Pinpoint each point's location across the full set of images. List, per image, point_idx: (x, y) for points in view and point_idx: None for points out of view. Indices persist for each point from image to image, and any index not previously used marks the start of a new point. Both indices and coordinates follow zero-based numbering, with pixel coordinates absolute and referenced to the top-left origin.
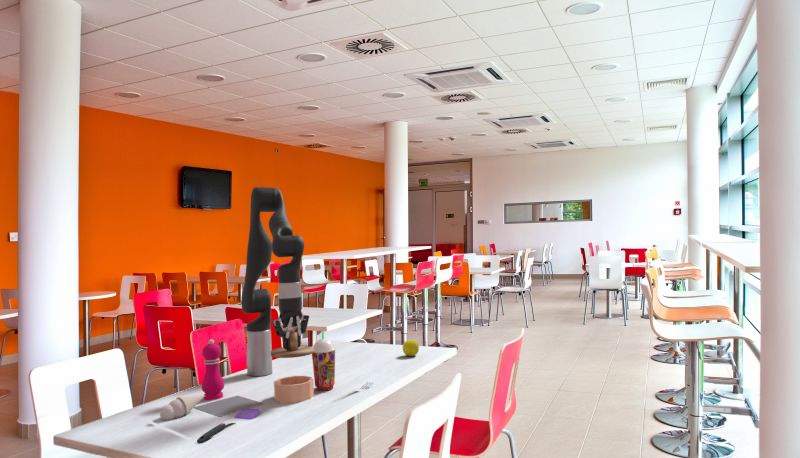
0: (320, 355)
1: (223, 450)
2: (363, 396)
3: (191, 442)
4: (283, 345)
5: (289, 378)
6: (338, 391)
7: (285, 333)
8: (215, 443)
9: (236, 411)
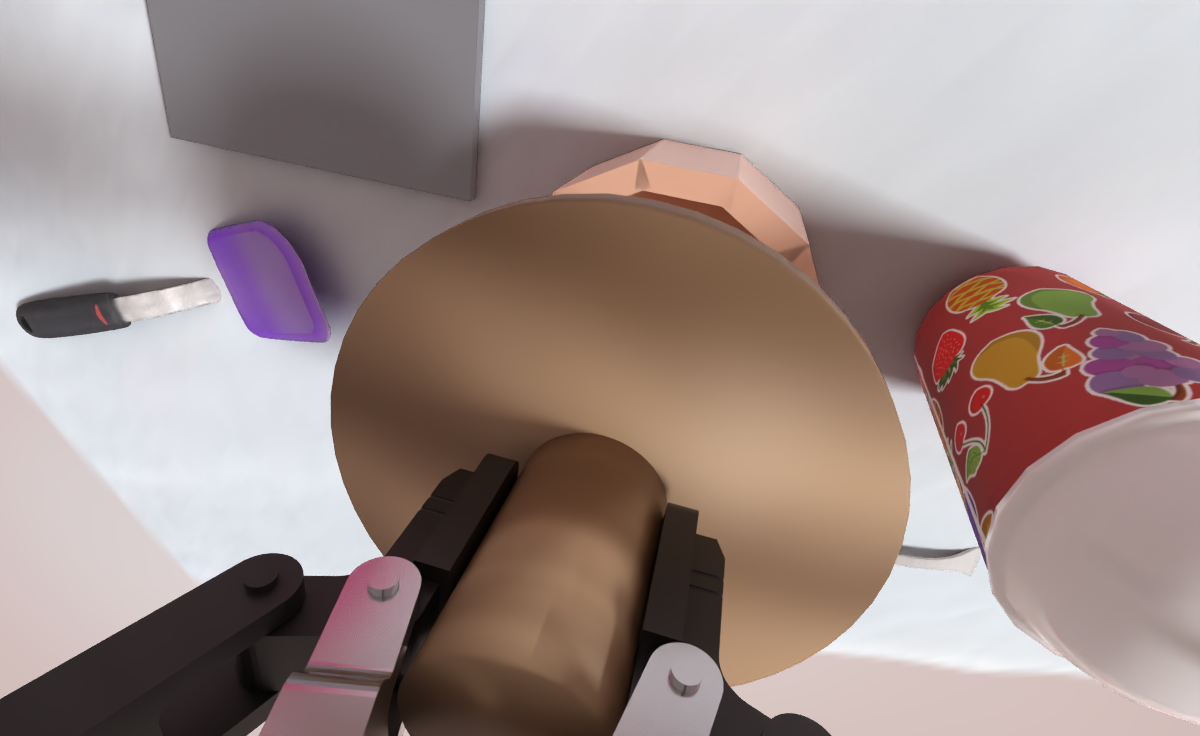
0: (982, 551)
1: (85, 450)
2: (866, 620)
3: (7, 286)
4: (435, 498)
5: (737, 217)
6: (938, 456)
7: (401, 647)
8: (78, 381)
9: (276, 153)
